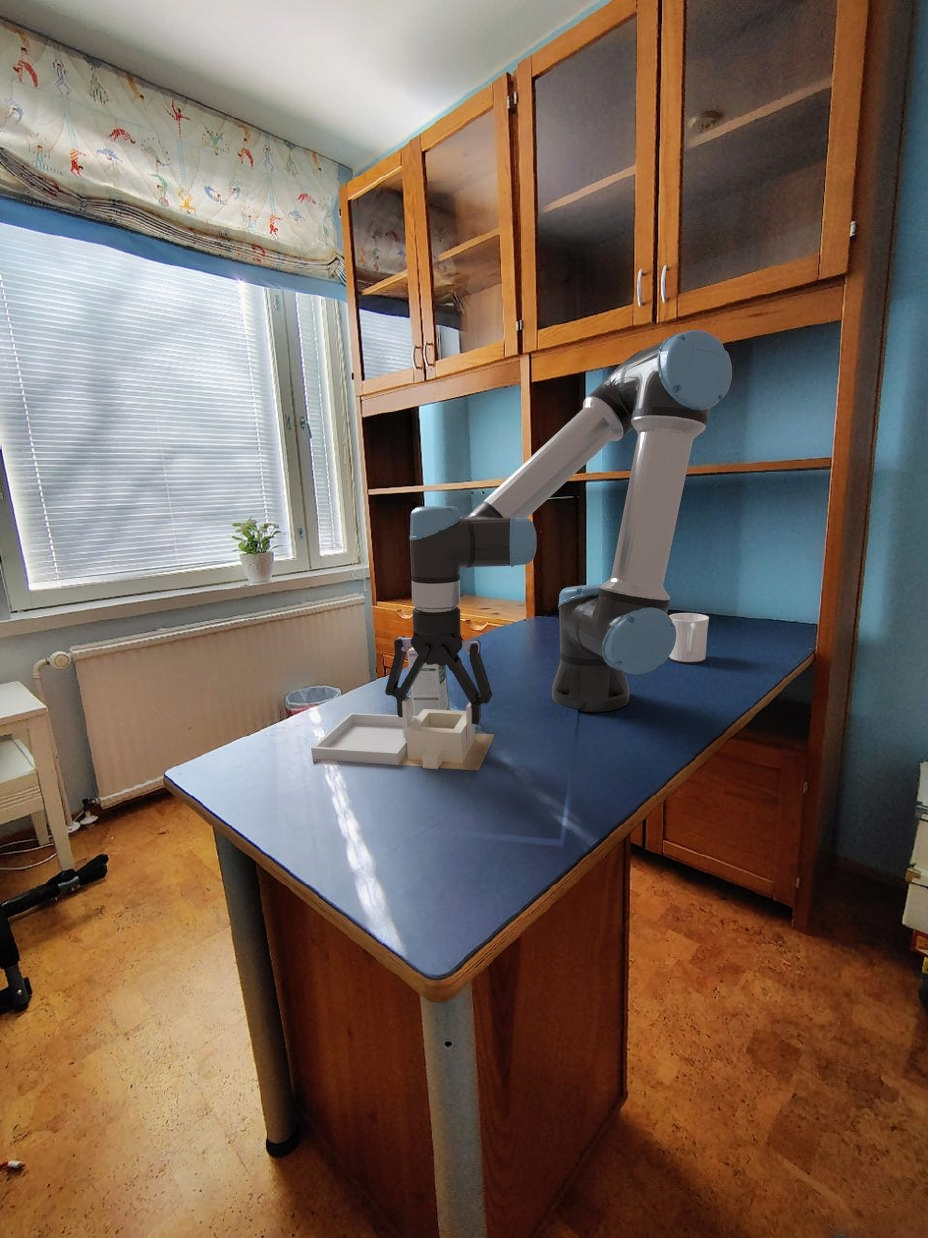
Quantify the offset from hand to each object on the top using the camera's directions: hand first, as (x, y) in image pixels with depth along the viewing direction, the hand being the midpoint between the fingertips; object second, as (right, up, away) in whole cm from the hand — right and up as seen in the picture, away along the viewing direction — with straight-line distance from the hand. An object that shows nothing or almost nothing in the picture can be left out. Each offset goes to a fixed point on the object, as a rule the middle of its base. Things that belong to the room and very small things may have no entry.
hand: (439, 738), depth 95 cm
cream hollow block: (0, -2, -1) cm, 2 cm away
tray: (-12, -2, +5) cm, 13 cm away
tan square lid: (+2, -2, 0) cm, 3 cm away
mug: (+57, +10, +41) cm, 71 cm away
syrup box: (-2, +1, +15) cm, 15 cm away
